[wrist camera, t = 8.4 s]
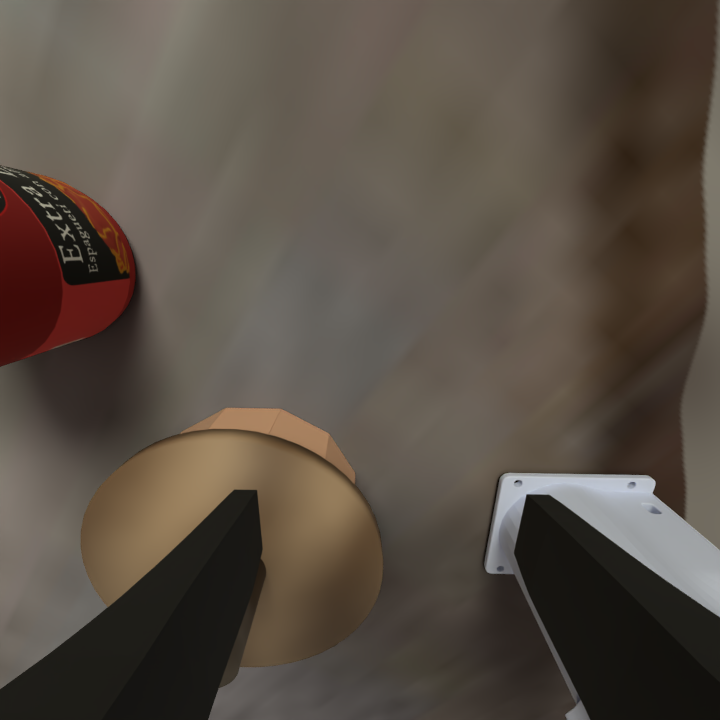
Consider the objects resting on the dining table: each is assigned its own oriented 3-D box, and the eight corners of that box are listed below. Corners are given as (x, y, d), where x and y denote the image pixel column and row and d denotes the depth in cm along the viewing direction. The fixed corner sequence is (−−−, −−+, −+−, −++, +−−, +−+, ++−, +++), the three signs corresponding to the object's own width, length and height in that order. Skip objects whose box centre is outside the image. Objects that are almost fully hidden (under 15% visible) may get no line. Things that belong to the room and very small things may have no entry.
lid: (413, 459, 16) (436, 550, 11) (351, 662, 21) (348, 787, 16) (89, 401, 15) (-38, 472, 10) (101, 628, 20) (18, 749, 15)
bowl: (356, 410, 19) (355, 449, 16) (353, 564, 23) (352, 625, 19) (150, 406, 19) (99, 444, 16) (181, 561, 23) (146, 622, 19)
